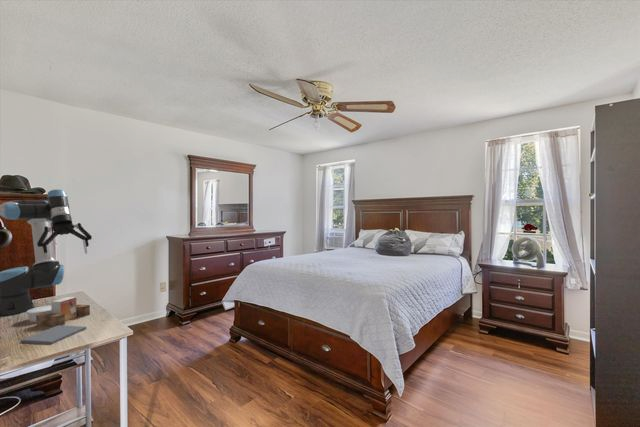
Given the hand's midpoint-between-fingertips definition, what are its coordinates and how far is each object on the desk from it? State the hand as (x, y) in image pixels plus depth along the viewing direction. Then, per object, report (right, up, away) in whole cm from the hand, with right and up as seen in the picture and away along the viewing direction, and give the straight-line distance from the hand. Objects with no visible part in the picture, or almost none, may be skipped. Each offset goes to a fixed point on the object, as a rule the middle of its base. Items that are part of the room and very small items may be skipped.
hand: (68, 255), depth 141 cm
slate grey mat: (+6, -33, -13) cm, 36 cm away
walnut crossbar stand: (-6, -33, +4) cm, 34 cm away
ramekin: (-19, -33, +6) cm, 39 cm away
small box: (-6, -33, +4) cm, 34 cm away
